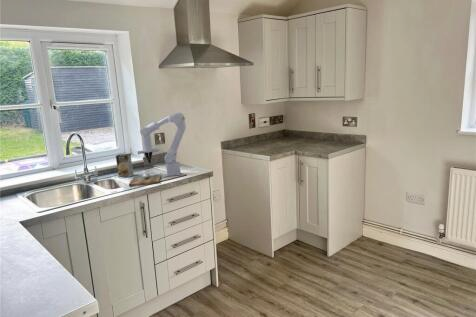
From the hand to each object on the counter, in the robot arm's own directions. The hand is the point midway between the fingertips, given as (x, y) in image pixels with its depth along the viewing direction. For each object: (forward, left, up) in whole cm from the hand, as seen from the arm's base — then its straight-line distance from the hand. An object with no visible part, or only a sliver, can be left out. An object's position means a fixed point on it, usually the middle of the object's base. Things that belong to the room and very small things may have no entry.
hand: (149, 162), depth 252 cm
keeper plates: (+2, +10, -8) cm, 13 cm away
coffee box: (+19, -8, -10) cm, 23 cm away
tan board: (+2, +13, -9) cm, 16 cm away
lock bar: (+2, +10, -8) cm, 13 cm away
